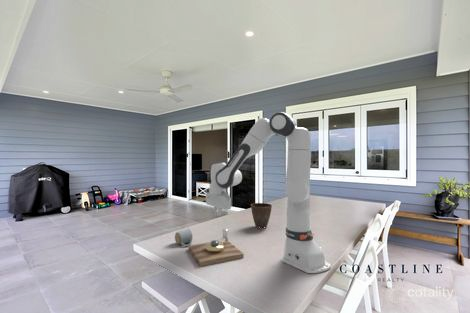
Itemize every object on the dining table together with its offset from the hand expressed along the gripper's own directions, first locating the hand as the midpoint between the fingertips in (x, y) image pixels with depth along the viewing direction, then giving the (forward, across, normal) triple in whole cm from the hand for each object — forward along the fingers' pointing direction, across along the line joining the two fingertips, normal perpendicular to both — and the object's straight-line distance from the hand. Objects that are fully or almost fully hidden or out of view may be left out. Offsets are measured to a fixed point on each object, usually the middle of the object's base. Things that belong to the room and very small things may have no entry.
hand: (217, 214), depth 129 cm
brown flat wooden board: (+17, -9, +8) cm, 21 cm away
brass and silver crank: (+14, -9, +6) cm, 18 cm away
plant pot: (+17, +7, -44) cm, 47 cm away
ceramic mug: (+17, +13, +14) cm, 26 cm away
